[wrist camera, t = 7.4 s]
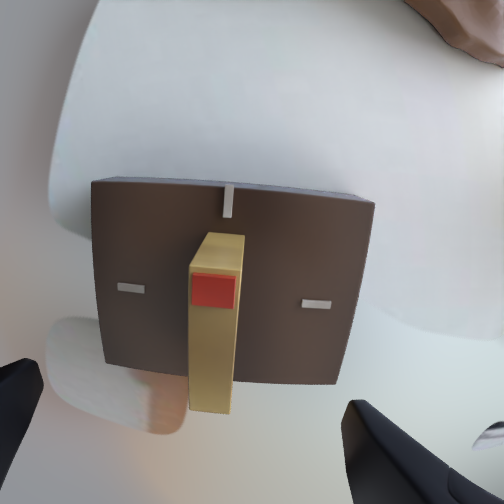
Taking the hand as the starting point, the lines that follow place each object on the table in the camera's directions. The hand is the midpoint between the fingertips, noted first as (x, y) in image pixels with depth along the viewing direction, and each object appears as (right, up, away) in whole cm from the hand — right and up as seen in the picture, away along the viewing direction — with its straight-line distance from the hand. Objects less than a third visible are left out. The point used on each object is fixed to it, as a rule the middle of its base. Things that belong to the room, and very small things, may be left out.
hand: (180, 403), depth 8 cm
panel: (+1, +3, +10) cm, 10 cm away
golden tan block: (+1, +2, +7) cm, 7 cm away
